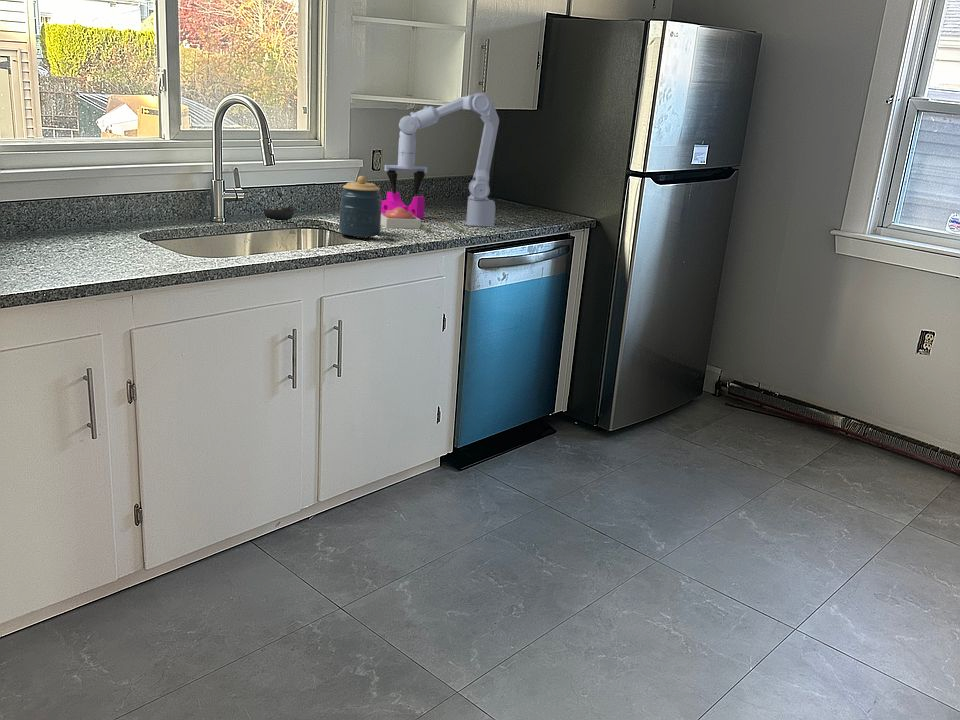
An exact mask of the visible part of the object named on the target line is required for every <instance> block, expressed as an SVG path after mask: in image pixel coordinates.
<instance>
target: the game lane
mask: <svg viewBox="0 0 960 720" xmlns="http://www.w3.org/2000/svg"><path fill="white" fill-rule="evenodd" d="M433 218H434V219H436V220H438V221H439V222H442V223H443V224H444V225H446V226H448V227H450V228H452V229H453V230H455V231H457V232H458V233H465V230H464V229H463V228H460V227H458V226H457V225H455V224H453V223H450V222H448V221H446V220H444V219H443V218H440V217H438V216H437V215H433ZM420 229H421V230H422V231H424V232H425V233H426V232H427V233H431V232H432V229H431V228H429V227H427V226H426V225H424V224H422V223H421V227H420Z"/></svg>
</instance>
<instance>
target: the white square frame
mask: <svg viewBox="0 0 960 720" xmlns="http://www.w3.org/2000/svg"><path fill="white" fill-rule="evenodd" d="M421 220H422V218H417V217H415V216H413V219H390V218H387V217H386V214H383V213H381V226H382V227H384V228H386V229H415V230H418V229H421V228H420V227H421V224H422V221H421Z"/></svg>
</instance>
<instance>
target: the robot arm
mask: <svg viewBox="0 0 960 720" xmlns="http://www.w3.org/2000/svg"><path fill="white" fill-rule="evenodd" d="M460 110H467V111H468V110H469V111H471V110H472V112H474V113H476V114H477V115H478V116H479V118H480V119H481V121H482V122H483V129H482V133H481V140H480V146H479V149H478V150H479V151H478V156H477V161H476V165H475V166H476V167H475V170H474V173H473V177H472V179H471V181H470V182H469V183H468V191H469V196H467V207H466V209H467V210H466V218H465V219H466V220H464V221H463V220H462V224H465V225H467V226H468V227H495V226H496V225H495V219H496V202H495V200H493V199H490V198H489V197H488V196H489V195H490V192H491V188H490V172H491V171H490V170H491V167H492V159H493V157H494V156H493V155H494V151H495V144H496V141H497V135H498V129H499V126H500V125H499V124H500V117H499V115H498V113H497V110H496V108H495V103H494V101H493V100H492V98H491V97H490V96H489V95H488V94H486V93H484V92H476V93H473V94H469V95H464V96H461V97H458V98H456V99H453V100H451V101H449V102H447V103H444V104H443V105H441V106H438V107H433V106H431V105H430V106H427V105H424V106H423V109H420V110H418V111H416V112H413V111H411V112H410V113H409V114H410V115H404V116H403V117H401V118H400V119H399V123H398V128H399V130H400V131H399V138H398V151H397V153H398V154H397V155H398V156H397V164H384V169H383V170H384V171H385V172H386V174H387V175H386V176H388V179H389V181H390V186H391V192H392V193H396V192H397V180H398V173H397V172H399V173H400V172H403V173H413V194H414V195H418V192H419V190H420V186H421V184H422V182H423V180H424V178H425V176H426V173H428V167H427V166H422V165H420V166H419V165H416V147H417V143H416V142H417V139H416V134H417V133H416V132H417V131H418V130H423V129H424V128H427V127H430V126H432V125H435V124H437V123H438V122H439V119H440V118H441V117H444V116H446V115H449V114H452V113H454V112H457V111H460Z"/></svg>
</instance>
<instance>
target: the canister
mask: <svg viewBox="0 0 960 720" xmlns="http://www.w3.org/2000/svg"><path fill="white" fill-rule="evenodd" d="M342 188H343V191H342V192H340V193H339V196H340V197H341V198H340V199H341V201H340V204H339V221H338V222H339V224H338V231H339V233H340V234H342V235H345V236H352V237H353V236H354V237H376V236H380V235H381V230H382V229H381V228H382V225H381V214H382V213H381V209H382V207H381V201H382V199H383V195H381V194H380V192H379V191H380V190H381V188H380V187H379V186H377V184H375V183H371V182H367V178H366V177H365V176H364V175H359V176H358V177H357V181H350V182H349V181H348V182H346V184H344V185H343V186H342Z"/></svg>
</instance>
